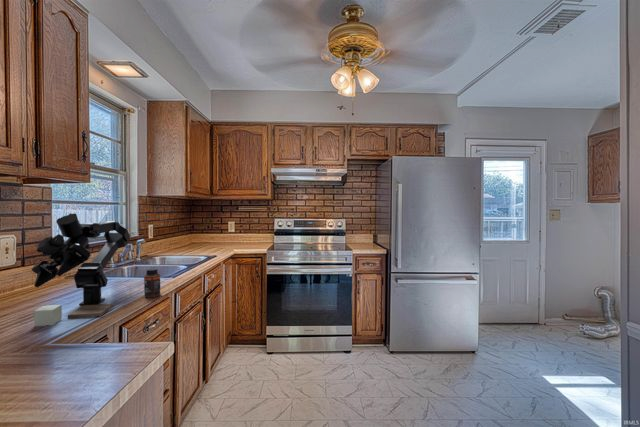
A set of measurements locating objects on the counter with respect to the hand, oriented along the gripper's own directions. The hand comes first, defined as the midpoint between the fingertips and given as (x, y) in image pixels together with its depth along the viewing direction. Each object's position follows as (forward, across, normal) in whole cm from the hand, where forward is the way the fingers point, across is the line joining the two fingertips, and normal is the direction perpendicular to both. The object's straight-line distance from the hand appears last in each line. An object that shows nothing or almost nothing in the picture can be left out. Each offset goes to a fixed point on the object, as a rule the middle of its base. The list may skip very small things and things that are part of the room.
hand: (46, 280), depth 99 cm
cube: (+4, -10, +11) cm, 16 cm away
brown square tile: (-3, -5, +20) cm, 20 cm away
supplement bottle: (-18, +2, +35) cm, 40 cm away
